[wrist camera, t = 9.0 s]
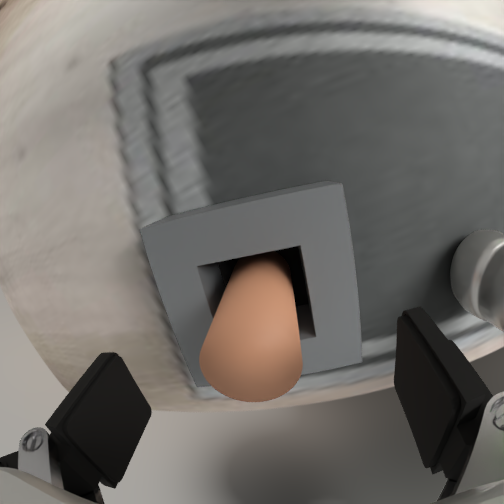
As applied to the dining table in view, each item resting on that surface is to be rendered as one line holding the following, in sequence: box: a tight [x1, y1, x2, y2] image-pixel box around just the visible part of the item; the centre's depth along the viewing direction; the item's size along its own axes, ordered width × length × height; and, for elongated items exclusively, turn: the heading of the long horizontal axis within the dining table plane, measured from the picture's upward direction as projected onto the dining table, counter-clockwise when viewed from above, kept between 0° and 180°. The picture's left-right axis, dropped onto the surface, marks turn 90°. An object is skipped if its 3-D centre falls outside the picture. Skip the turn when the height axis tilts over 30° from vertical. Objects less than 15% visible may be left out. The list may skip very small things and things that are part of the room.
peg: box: [199, 251, 303, 402], centre depth 15 cm, size 4×4×10 cm
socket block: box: [140, 181, 362, 387], centre depth 18 cm, size 11×11×4 cm
